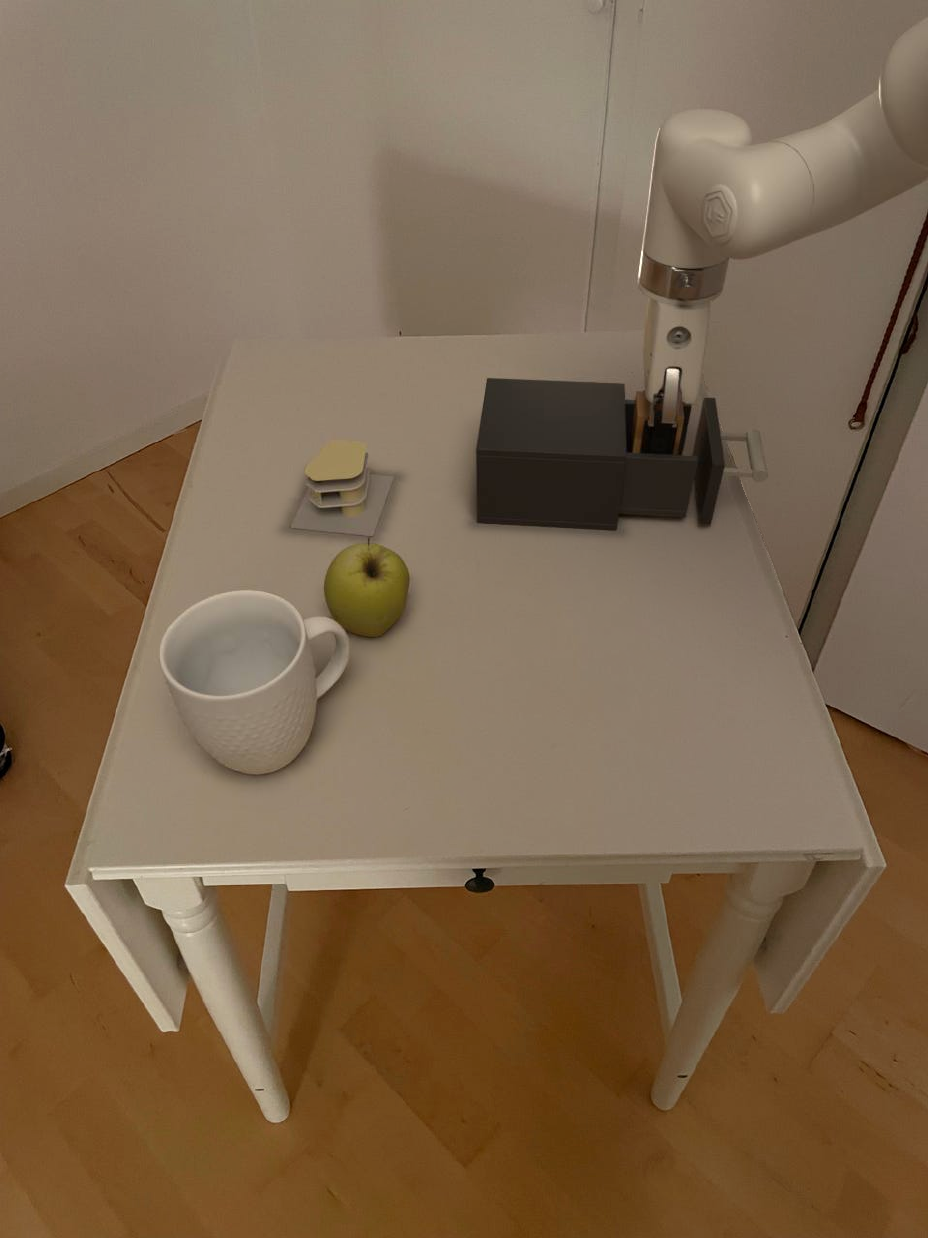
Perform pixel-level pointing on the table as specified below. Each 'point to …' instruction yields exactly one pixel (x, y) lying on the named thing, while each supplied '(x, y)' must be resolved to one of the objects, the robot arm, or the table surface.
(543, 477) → the dark grey box
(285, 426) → the table surface
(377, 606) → the apple
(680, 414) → the block
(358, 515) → the stacked layers on plate
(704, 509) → the drawer
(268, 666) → the mug
